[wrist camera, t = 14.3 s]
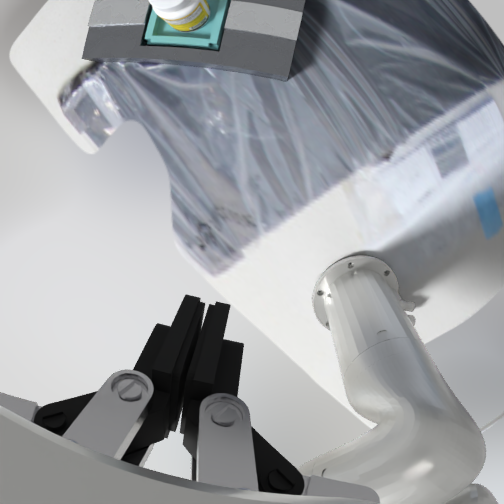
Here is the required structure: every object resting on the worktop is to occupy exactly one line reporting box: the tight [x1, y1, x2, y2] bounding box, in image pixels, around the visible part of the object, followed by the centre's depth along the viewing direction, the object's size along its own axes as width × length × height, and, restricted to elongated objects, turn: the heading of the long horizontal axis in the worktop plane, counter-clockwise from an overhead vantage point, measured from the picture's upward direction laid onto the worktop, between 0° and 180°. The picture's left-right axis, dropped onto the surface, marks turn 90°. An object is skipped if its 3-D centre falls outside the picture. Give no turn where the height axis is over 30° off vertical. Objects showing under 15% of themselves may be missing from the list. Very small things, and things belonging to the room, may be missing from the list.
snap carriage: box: [145, 0, 231, 52], centre depth 27 cm, size 8×8×3 cm
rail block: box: [82, 0, 305, 81], centre depth 28 cm, size 24×12×4 cm, turn 79°
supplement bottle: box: [149, 0, 211, 32], centre depth 23 cm, size 5×5×8 cm
